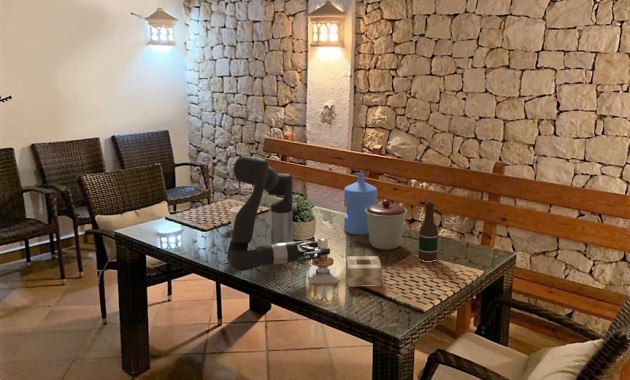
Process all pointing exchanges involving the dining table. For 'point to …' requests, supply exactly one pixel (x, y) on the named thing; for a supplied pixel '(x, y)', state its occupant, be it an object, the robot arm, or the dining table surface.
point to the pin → (323, 258)
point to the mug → (234, 214)
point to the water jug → (358, 205)
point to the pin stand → (322, 276)
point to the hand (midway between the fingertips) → (325, 247)
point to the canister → (385, 225)
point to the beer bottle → (428, 235)
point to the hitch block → (363, 270)
